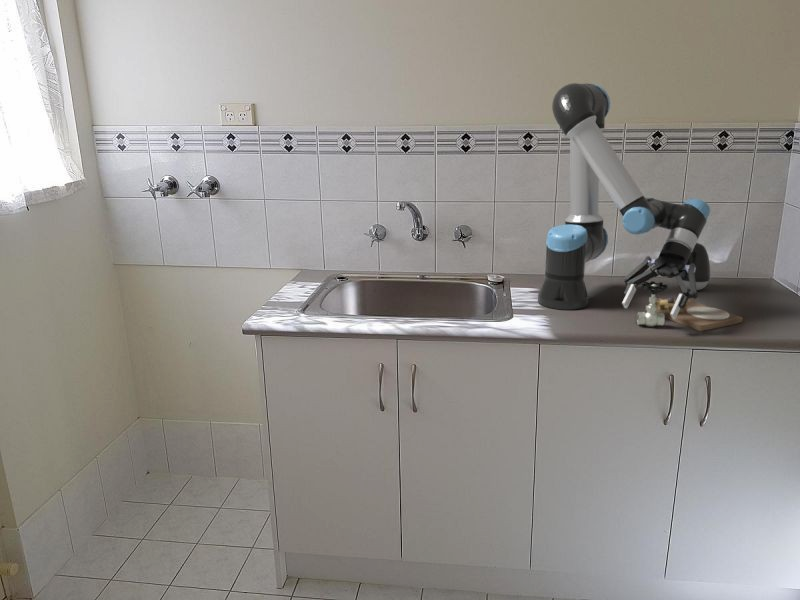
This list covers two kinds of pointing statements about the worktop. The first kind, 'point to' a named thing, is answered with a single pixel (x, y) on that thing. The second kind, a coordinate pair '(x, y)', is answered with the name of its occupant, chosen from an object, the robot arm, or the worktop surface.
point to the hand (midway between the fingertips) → (647, 311)
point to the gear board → (697, 315)
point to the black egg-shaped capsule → (698, 267)
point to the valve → (652, 306)
